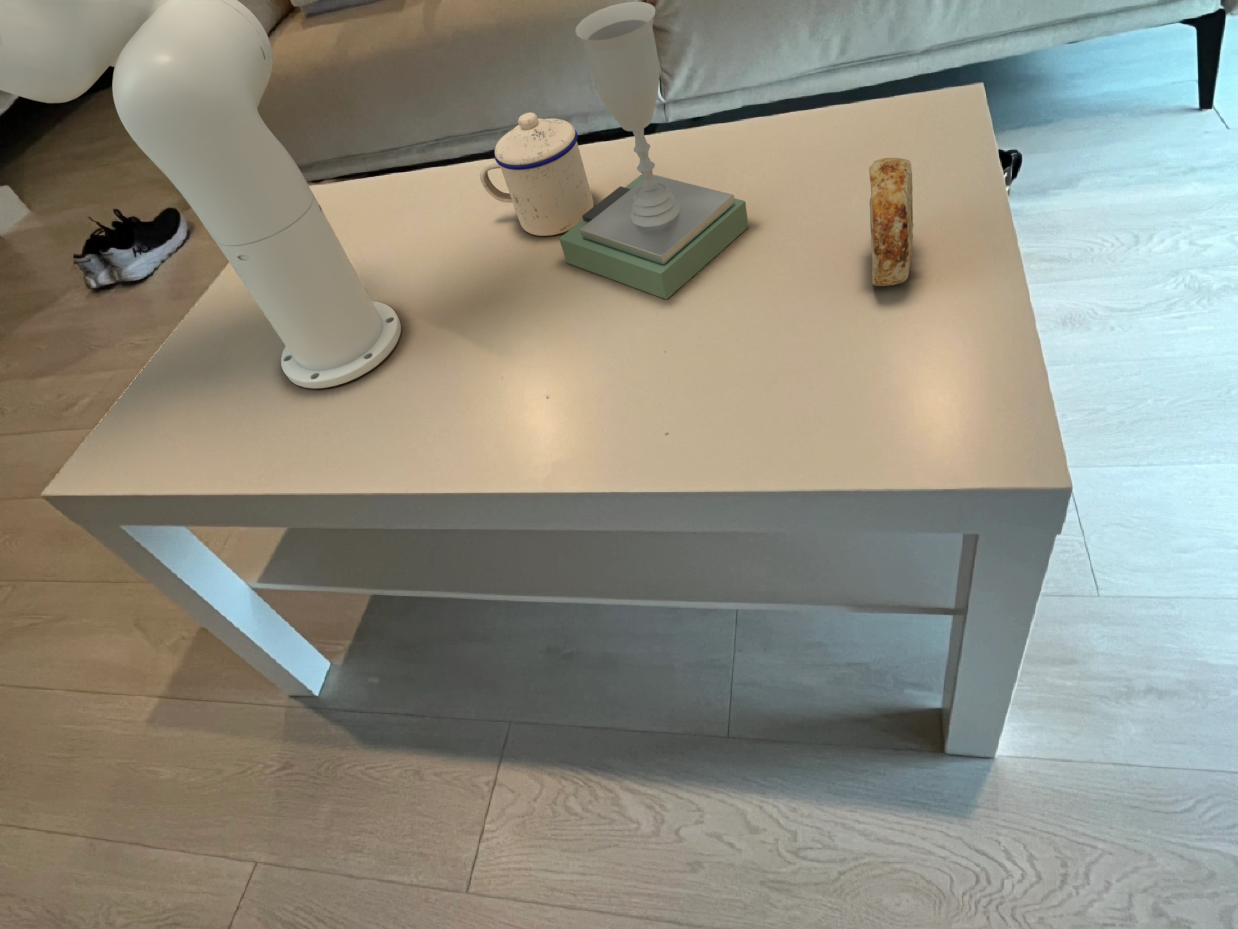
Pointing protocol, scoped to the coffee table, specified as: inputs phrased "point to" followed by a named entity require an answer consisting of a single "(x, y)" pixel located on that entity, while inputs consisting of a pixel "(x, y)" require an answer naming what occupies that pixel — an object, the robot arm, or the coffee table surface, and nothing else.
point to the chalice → (630, 91)
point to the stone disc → (891, 220)
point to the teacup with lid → (541, 175)
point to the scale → (645, 271)
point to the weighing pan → (662, 239)
